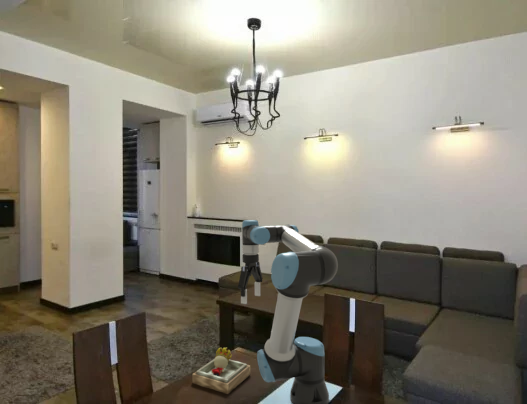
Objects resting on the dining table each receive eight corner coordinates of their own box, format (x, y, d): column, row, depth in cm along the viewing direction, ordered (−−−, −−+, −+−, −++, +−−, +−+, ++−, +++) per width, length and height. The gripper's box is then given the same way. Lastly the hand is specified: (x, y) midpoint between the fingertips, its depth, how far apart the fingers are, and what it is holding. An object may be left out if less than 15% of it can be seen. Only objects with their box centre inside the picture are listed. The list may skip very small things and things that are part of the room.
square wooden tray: (250, 374, 161) (250, 363, 161) (227, 394, 145) (227, 382, 145) (217, 365, 169) (217, 355, 169) (192, 383, 153) (192, 371, 153)
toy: (226, 381, 153) (236, 352, 166) (219, 369, 151) (230, 341, 164) (211, 381, 156) (222, 353, 169) (204, 370, 153) (216, 342, 166)
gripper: (255, 249, 179) (255, 292, 179) (229, 257, 156) (230, 306, 157) (269, 250, 176) (269, 293, 176) (244, 258, 153) (245, 308, 153)
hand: (251, 299), depth 166 cm, fingers open, 13 cm apart
